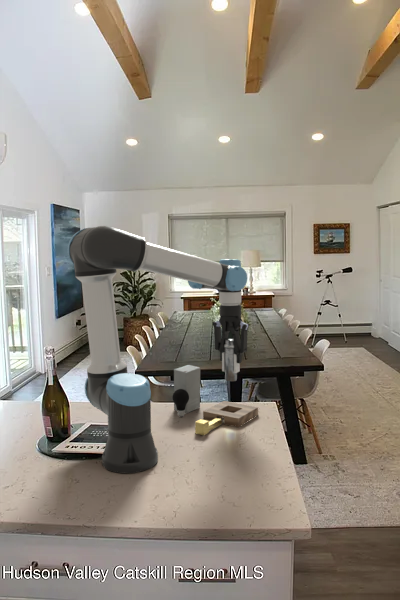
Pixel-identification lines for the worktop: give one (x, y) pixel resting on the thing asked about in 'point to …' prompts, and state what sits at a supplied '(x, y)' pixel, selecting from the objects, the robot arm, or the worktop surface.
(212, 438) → the worktop surface
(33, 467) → the worktop surface
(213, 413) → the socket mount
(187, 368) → the skincare box
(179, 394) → the light bulb
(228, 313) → the robot arm
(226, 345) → the cylinder
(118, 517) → the worktop surface
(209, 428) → the lock pin
